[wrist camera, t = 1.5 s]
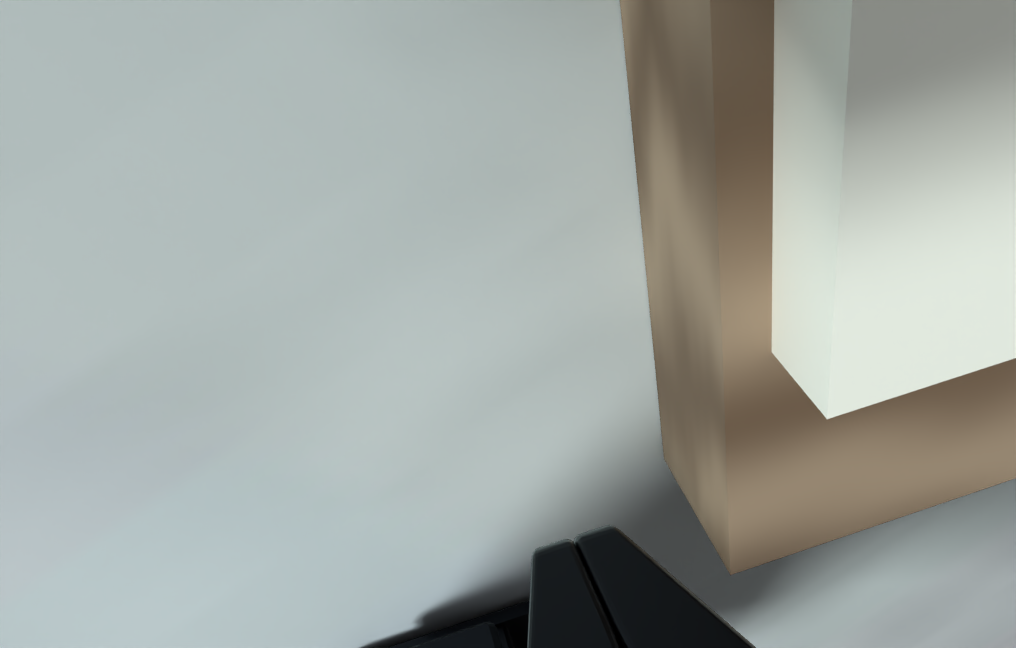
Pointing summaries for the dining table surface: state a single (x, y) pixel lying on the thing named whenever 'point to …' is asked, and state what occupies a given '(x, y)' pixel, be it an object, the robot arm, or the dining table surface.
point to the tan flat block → (766, 316)
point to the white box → (892, 194)
